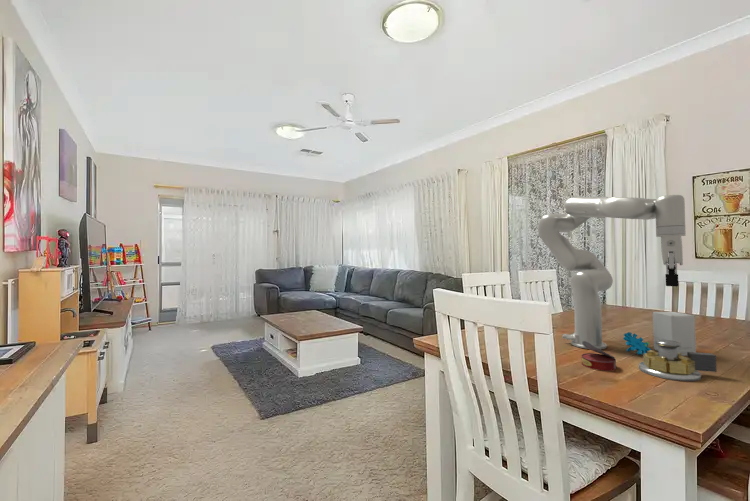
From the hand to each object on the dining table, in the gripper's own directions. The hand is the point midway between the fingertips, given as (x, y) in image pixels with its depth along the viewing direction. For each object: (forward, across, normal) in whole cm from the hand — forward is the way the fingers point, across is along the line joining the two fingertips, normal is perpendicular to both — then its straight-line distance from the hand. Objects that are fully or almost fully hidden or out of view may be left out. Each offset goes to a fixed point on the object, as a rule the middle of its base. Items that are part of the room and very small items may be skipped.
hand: (672, 285), depth 114 cm
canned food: (+28, -14, +20) cm, 37 cm away
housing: (+27, -9, +2) cm, 29 cm away
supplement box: (+27, +20, 0) cm, 34 cm away
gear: (+27, +10, +10) cm, 31 cm away
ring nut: (+25, -8, -1) cm, 27 cm away
